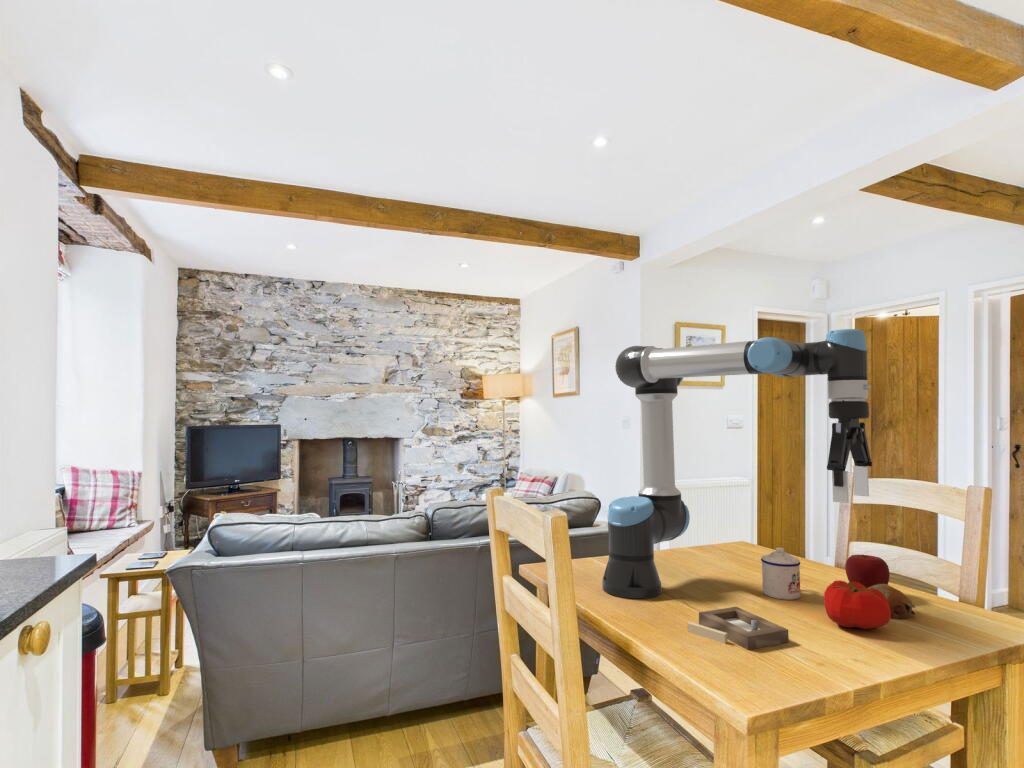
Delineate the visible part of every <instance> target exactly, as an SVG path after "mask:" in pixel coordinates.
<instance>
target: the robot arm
mask: <svg viewBox="0 0 1024 768" xmlns="http://www.w3.org/2000/svg"><path fill="white" fill-rule="evenodd" d="M615 361H616V362H615V366H614V367H615V373H616V375H617V378H618V379H619V380H620V381H621V382H622V383H623V384H624V385H625V386H627V387H630V388H635V392H634V393H635V397H636V398H637V399H638V400H639V401H640V404H641V405H640V408H641V411H640V412H641V435H642V437H641V438H642V439H641V441H642V468H643V472H642V475H643V486H642V487H641V489H640V490H638V496H635V495H634V496H633V495H632V496H624V497H619V498H616V499H614V500H612V501H611V502H610V503H609V505H608V510H607V511H608V513H607V531H608V532H607V533H608V534H607V535H608V560H607V564H606V566H605V571H604V573H603V577H602V580H601V581H602V583H601V585H602V587H601V588H602V590H603V591H604V592H605V593H607V594H609V595H612V596H615V597H618V598H627V599H647V598H648V599H649V598H654V597H657V596H659V595H661V593H662V581H661V579H660V576H659V572H658V569H657V566H656V563H655V557H654V556H655V553H654V552H655V551H654V547H655V545H656V544H660V543H664V542H670V541H673V540H675V539H677V538H678V537H681V536H682V535H684V533H685V532H686V531H687V529H688V526H689V524H690V511H689V508H688V506H687V505H686V504H685V501H683V500H682V493H681V491H680V490H679V488H677V487H676V476H675V473H676V471H675V446H674V445H675V444H674V441H675V440H674V418H673V401H674V399H675V398H677V397H678V386H680V385H681V382H682V381H683V380H684V378H696V377H697V378H699V377H701V378H702V377H719V376H720V377H721V376H722V377H723V376H741V375H742V376H743V375H765V374H768V375H769V374H771V375H772V374H773V375H774V376H776V377H784V378H785V377H786V378H787V377H788V378H793V377H802V376H815V375H816V376H817V375H819V376H821V375H827V398H828V399H829V400H831V401H829V403H828V417H829V418H830V419H834V420H835V419H837V422H832V423H831V438H830V446H829V452H828V459H827V465H826V470H828V471H831V474H832V475H831V477H832V478H831V481H832V482H831V483H832V502H833V503H842V504H843V503H844V504H849V502H850V501H849V474H848V471H847V470H846V469H847V464H848V461H849V456H850V455H851V456H852V460H853V462H854V463H853V464H854V465H853V466H852V470H853V471H852V472H853V473H852V474H853V477H852V478H853V496H859V497H860V496H861V497H870V493H869V468H868V467H873V462H872V459H871V454H870V453H871V452H870V449H869V444H868V438H867V433H866V424H865V422H862V421H861V422H860V419H862V420H863V419H865V420H866V419H868V418H869V417H870V406H869V405H870V403H869V402H868V401H866V399H868V398H869V390H870V389H871V387H872V385H871V384H868V380H869V379H868V348H867V340H866V334H865V332H864V331H863V330H861V329H860V328H859V329H857V328H845V329H842V328H841V329H835V330H829V331H828V332H827V333H826V335H825V340H822V341H813V342H796V341H790V340H785V339H781V338H778V337H775V336H774V337H770V336H769V337H768V336H767V337H766V336H765V337H761V338H758V339H757V340H747V341H734V342H725V343H714V344H713V343H711V344H702V345H692V346H691V345H690V346H682V347H681V346H680V347H678V346H677V347H672V348H671V347H669V348H663V347H660V348H658V347H657V346H653V345H647V346H646V345H645V346H643V345H633V346H628V347H626V348H625V349H623V350H622V351H621V352H620V353H619V355H618V356H617V358H616V360H615Z"/></svg>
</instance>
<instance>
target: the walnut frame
mask: <svg viewBox="0 0 1024 768" xmlns="http://www.w3.org/2000/svg"><path fill="white" fill-rule="evenodd" d="M751 620H756V621H758V630H754V631H751ZM698 624H699V625H702V626H705V627H709V628H712V629H715V630H719V631H722V632H725V633H727V641H728V640H729V641H730V642H732V643H734V644H736V645H738V646H740V647H742V648H744V649H746V650H747V651H749V650H750V651H751V650H755V649H759V648H764V647H771V646H776V645H780V644H787V643H789V637H790V636H789V629H787V628H785V627H783V626H781V625H780V624H776V623H774V622H772V621H769V620H768V619H765V618H763V617H761V616H758V615H757V614H754V613H752V612H750V611H747V610H745V609H743V608H740V607H739V606H733V607H732V606H730V607H725V608H719V609H718V608H717V609H713V610H704V611H699V612H698Z"/></svg>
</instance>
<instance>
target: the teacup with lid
mask: <svg viewBox="0 0 1024 768" xmlns="http://www.w3.org/2000/svg"><path fill="white" fill-rule="evenodd" d="M760 561H761V572H762V573H761V574H762V575H761V576H762V593H763V594H764V595H766V596H767V597H769V598H774V599H778V600H784V601H785V600H786V601H788V600H789V601H794V600H797V599H798V600H799V598H801V576H800V575H801V574H800V571H801V570H800V567H801V566H800V565H801V560H800V559H799V558H798V557H795V556H793V555H791V554H790V553H788V552H786V551H785V548H784V547H775V551H771V552H769V553H765V554H763V555H762V556H761V558H760Z"/></svg>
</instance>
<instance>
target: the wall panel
mask: <svg viewBox="0 0 1024 768" xmlns="http://www.w3.org/2000/svg"><path fill="white" fill-rule="evenodd" d="M686 625H687V633H690V634H694V635H696V636H699V637H703V638H706V639H709V640H713V641H715V642H719V643H722V644H727V643H728V639H727V633H725V632H722V631H719V630H715V629H712V628H709V627H705V626H702V625H700V624H699V623H695V622H692V621H689V622H687V623H686ZM754 630H758V621H756V620H751V631H754Z"/></svg>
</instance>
